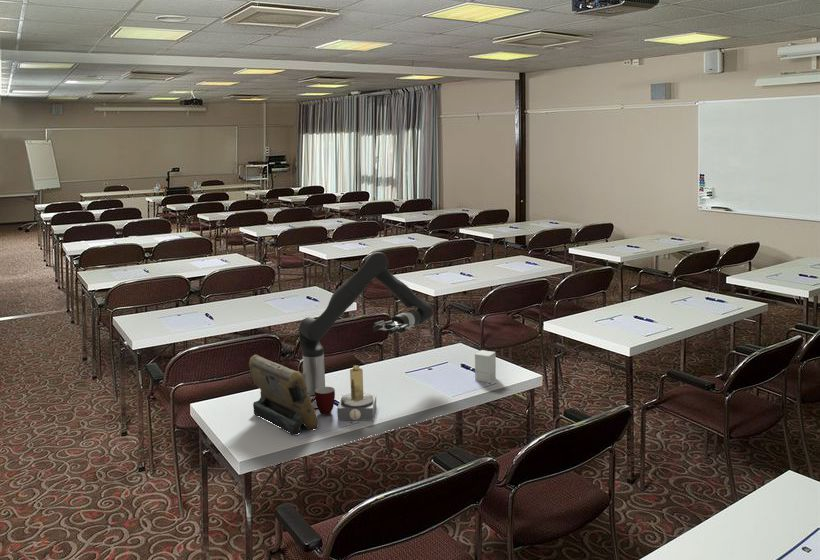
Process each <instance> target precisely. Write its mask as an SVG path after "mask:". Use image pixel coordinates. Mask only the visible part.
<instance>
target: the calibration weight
mask: <svg viewBox="0 0 820 560" xmlns="http://www.w3.org/2000/svg"><path fill="white" fill-rule="evenodd" d="M363 371H364V370H363V368H360V365H359V364H357V365H352V368H351V369H350V370H349V377H350V378H349V379H350V380H349V381H350V393H351V399H352V400H354V401H359V400H362V399H363V398H364V395H363V393H364V373H363Z"/></svg>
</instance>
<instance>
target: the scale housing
mask: <svg viewBox="0 0 820 560" xmlns="http://www.w3.org/2000/svg"><path fill="white" fill-rule="evenodd" d="M344 395H345V394H343V395H341V398H342V397H343V396H344ZM371 395H372V396H373V402H372V403H371V404H369V405H366V406H362V407H349V406H345V405H343V404H342V403H341V399H340V401H339V403H338V405H337V409H336V410H337V420H338V421H374V418H375V414H376V410H377V394H371Z"/></svg>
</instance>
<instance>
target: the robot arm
mask: <svg viewBox="0 0 820 560" xmlns="http://www.w3.org/2000/svg"><path fill="white" fill-rule="evenodd" d="M388 265H389V259H388V256H387V255H386V254H385V253H384V252H380V251H378V252H377V251H376V252H373V253H370V255H368V256H367V257H366V258H365V260H364V264H363V265H362V266H361V268H359V270H358V271H356V272H355V273H354V274H353V275H352V276H350V277H349V278H348V279H346V280H345V281H344V282H343V283H342V284H341V285H340V286H338V288H337V289H336V290H335V291H334V292H333V294H332V295H331V297H330V299H329V302H328V304H327V307H326V308H325V310H324V311H323V312H322V313H321V314H320V315H318V317H317V318H314V317H310V316H309V317H305V318H303V319H302V320H301V321H300V323H299V326H298V327H299V328H298V335H299V336H298V337H299V346H300V349H301V353H302V369H303V370H302V373H301V374H302V376H303V378H304V381H305V384H306V386H307V392H308V395H309V396H315V389H317V388H319V387H326V376H325V375H326V373H325V353H324V351H325V350H324V346H323V345H322V344H321V341H320V340H322V339H323V338H324V337H325V336H326V334H327V333H328V332H329V330H331V328H332V327H333V325H334V324H335V323H336V321H337V320H338V319H339V318H341V316H342V315H343V314H344V313H346V311H347V310H348V309H349V307H351V306H352V305H353V304H354V303H355V301H357V299H359V297H360V296H361V295H362V293H363V292H364V290H365V289H366V288H367V287H368V286H369V285H370V283H371V282H372V281H373V280H374V279H377V280H378V281H380V282H381V283H382V285H384V286H385V287H386V288H387V289H389V291H390V292H391V293H392V294H393V295H394V296H395V297H396V298H397V299H398V301H400V303H402V305H404V306H405V308H407V309H409V308H412V307H415V308H416V309H411V310H408V311H405V312H401V313H399V314H396V315H394V316H392V317H391V318H390V320H388V321H385V320H384V319H383V320H380V321H377V322H374V325H373V326H372V332H378V331H388V332H389V333H388V334H389V335H393V334H398V333H400V334H403V333H405V332H407V331H408V330H409V329H411V328H412V327H414V326H420V325H421V324H424V323H425V322H426V321H427V320H428V319H431V317H433V315H434V308H433V306H432V305H431V304H430V303H429V302H427V301H425V300H424V299H422V298H421V297H419V296H417V295H416V294H415V293H414V292H413V290H412V289H411V288H410V287H409V286H407V284H405V283H404V282H403V281H401V280H400V279H398V278H397V277H396V276H394V275H393V274H392V272H391V271H390V270H389V269H388Z"/></svg>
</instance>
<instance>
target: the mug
mask: <svg viewBox="0 0 820 560" xmlns="http://www.w3.org/2000/svg"><path fill="white" fill-rule="evenodd" d="M335 391H336V390H335V388H334V387H332V386H325V387H319V388H317V389H315V395H314V397H312V398H310V399H311V403H312V404H313V402H315V403H316V407H314V406H313V408H314V410H315V411H317V410H318V411H319V413H320V415H322V416H327V415H330V414H331V413H332V411H333V409H334V405H335V398H336V394H335V393H336V392H335Z"/></svg>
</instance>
